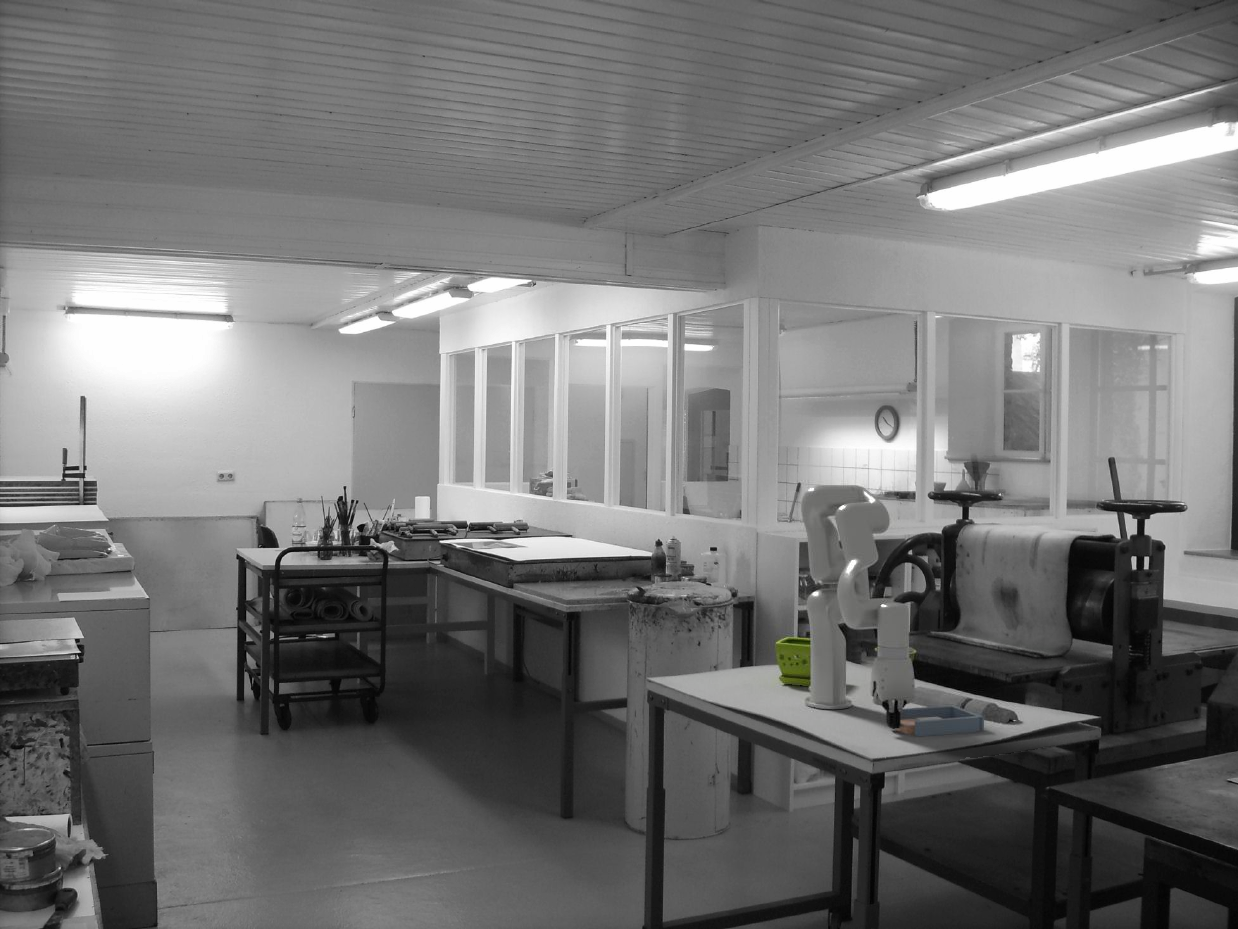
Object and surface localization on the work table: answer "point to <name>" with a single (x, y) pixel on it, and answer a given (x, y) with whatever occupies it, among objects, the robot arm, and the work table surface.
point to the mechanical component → (963, 704)
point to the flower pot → (794, 660)
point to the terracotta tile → (907, 726)
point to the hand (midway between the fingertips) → (893, 727)
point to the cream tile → (928, 718)
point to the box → (943, 720)
